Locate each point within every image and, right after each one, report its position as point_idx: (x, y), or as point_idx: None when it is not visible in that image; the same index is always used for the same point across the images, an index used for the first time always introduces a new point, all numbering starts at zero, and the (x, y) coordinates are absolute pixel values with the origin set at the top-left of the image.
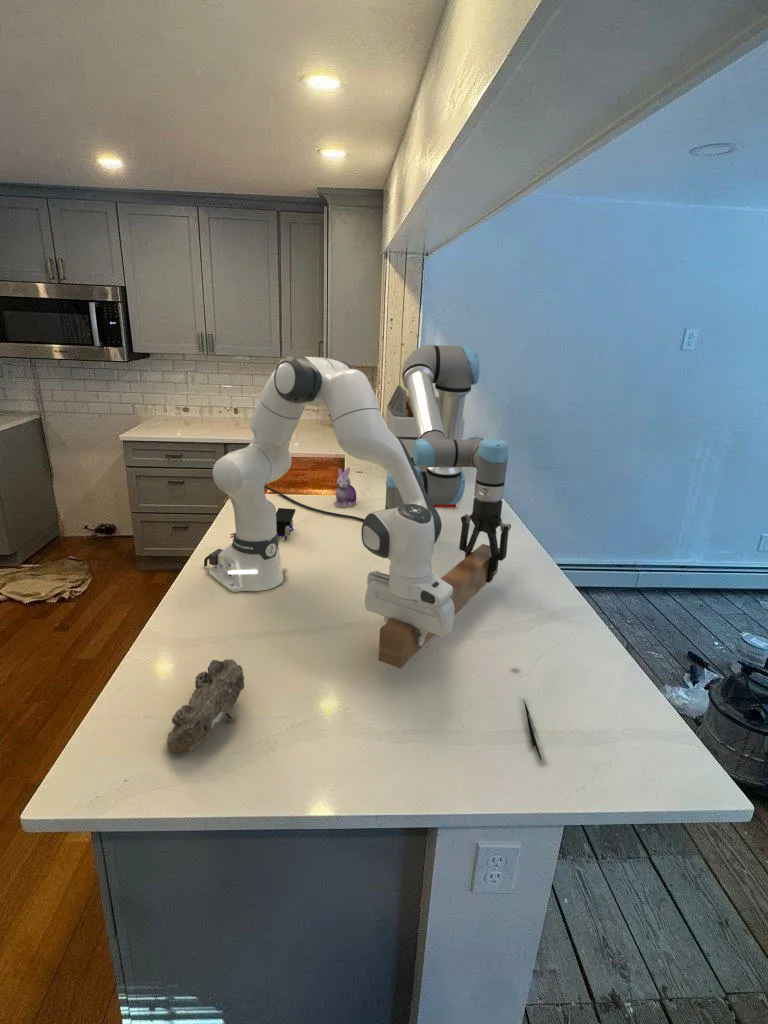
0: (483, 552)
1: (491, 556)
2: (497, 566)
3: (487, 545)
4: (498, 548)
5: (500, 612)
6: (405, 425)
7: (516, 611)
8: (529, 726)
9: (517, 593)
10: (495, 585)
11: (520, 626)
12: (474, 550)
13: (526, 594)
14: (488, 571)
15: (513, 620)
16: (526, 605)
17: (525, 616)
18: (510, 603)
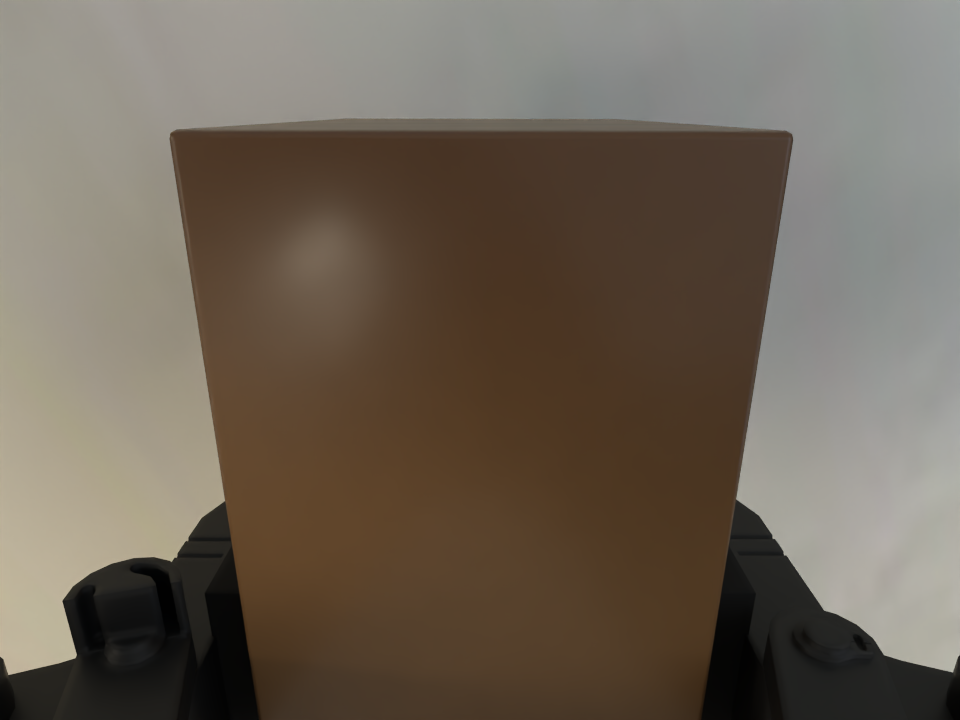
0: (475, 655)
1: (700, 707)
2: (774, 554)
3: (362, 167)
4: (748, 183)
5: (747, 507)
6: None
7: (869, 423)
8: None
9: (825, 66)
10: (555, 24)
11: (927, 601)
12: (251, 665)
13: (924, 25)
14: None
15: (865, 557)
16: (944, 270)
17: (951, 456)
18: (795, 321)
